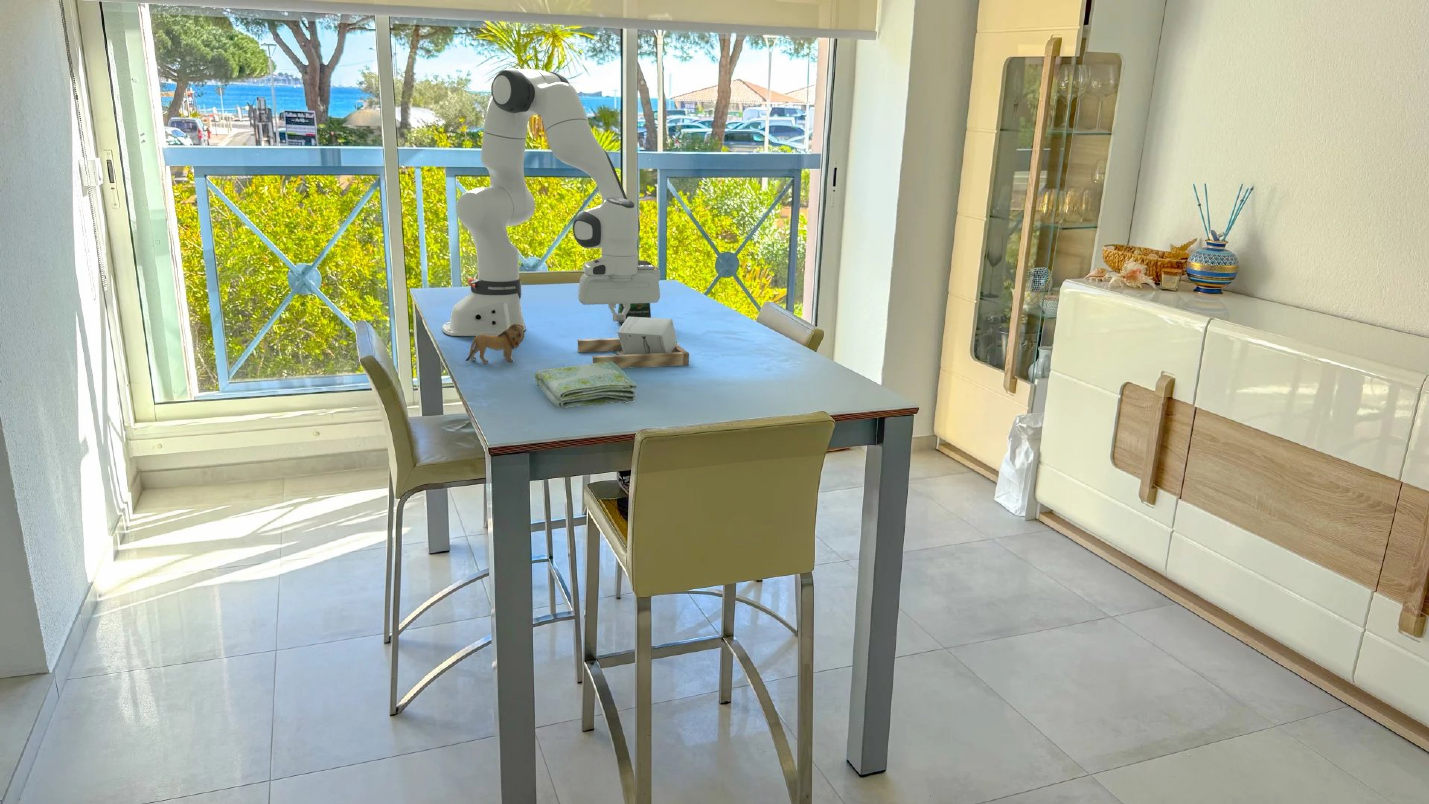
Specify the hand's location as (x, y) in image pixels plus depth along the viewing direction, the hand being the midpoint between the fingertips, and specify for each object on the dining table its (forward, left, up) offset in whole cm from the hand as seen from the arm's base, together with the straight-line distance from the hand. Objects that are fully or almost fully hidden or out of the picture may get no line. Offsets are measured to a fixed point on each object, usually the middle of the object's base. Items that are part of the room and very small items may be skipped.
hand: (619, 321), depth 244 cm
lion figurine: (-30, +4, -10) cm, 32 cm away
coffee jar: (+14, +39, -10) cm, 43 cm away
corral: (+3, 0, -10) cm, 10 cm away
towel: (-15, -28, -10) cm, 33 cm away
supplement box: (+2, +4, -5) cm, 6 cm away
